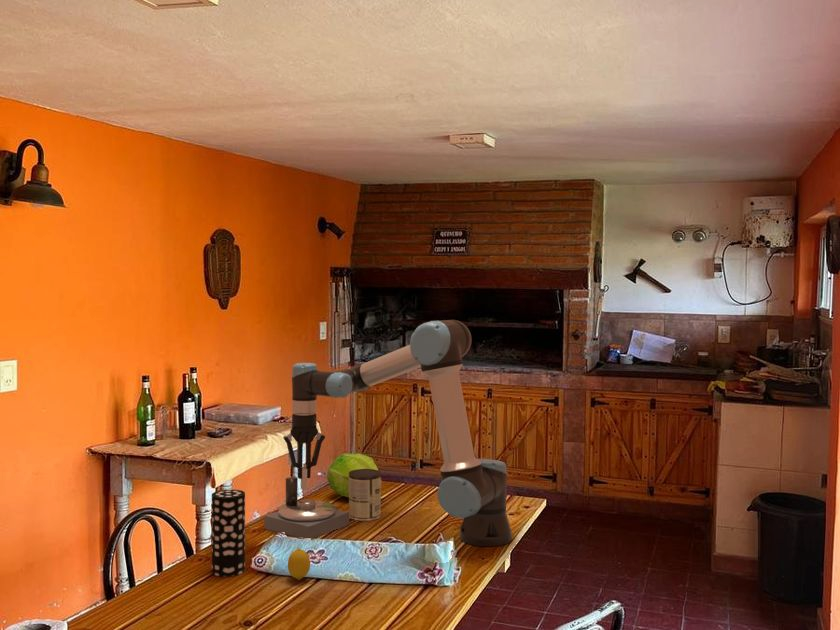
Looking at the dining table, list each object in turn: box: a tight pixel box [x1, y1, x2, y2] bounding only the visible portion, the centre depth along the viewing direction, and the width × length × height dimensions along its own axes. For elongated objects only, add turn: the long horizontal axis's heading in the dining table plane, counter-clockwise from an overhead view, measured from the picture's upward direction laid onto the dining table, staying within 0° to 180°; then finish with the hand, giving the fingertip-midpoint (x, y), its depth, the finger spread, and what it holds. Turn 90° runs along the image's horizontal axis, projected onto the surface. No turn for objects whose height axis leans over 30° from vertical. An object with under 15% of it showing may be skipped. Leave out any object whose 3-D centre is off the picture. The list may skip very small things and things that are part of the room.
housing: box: [263, 508, 350, 539], centre depth 244 cm, size 18×18×4 cm
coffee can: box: [348, 469, 382, 522], centre depth 255 cm, size 10×10×14 cm
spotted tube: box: [211, 489, 246, 577], centre depth 206 cm, size 8×8×20 cm
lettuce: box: [326, 452, 383, 499], centre depth 276 cm, size 17×20×15 cm
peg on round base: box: [278, 476, 336, 521], centre depth 243 cm, size 17×17×10 cm
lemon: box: [287, 548, 311, 581], centre depth 201 cm, size 6×6×8 cm
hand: (303, 488), depth 249 cm, fingers closed
